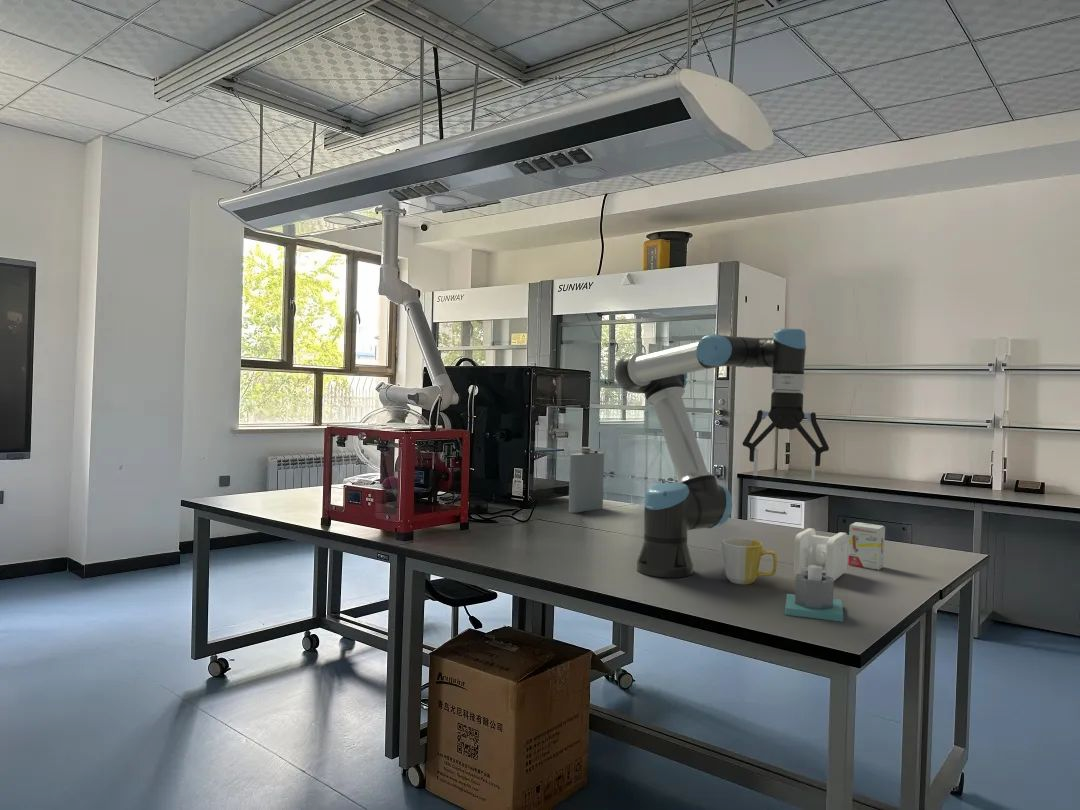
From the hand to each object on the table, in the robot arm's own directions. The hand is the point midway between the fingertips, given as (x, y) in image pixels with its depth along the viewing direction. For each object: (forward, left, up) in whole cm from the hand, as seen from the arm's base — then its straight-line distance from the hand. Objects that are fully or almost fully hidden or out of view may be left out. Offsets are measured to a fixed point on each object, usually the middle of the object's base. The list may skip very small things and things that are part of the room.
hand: (783, 477), depth 184 cm
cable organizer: (+10, +20, -29) cm, 36 cm away
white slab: (-77, +89, -29) cm, 121 cm away
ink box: (+22, +37, -29) cm, 51 cm away
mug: (-8, +4, -29) cm, 30 cm away
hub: (+8, -15, -27) cm, 31 cm away
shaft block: (+8, -14, -28) cm, 33 cm away
